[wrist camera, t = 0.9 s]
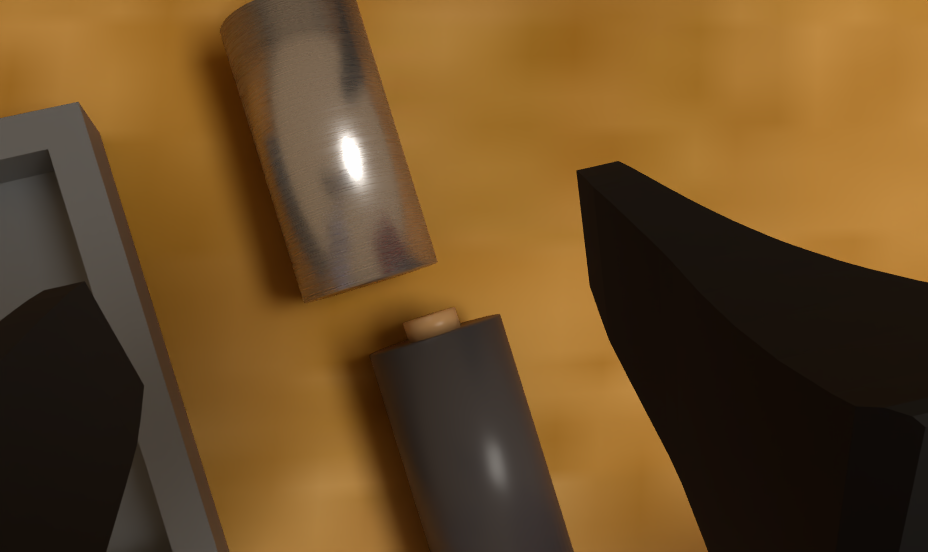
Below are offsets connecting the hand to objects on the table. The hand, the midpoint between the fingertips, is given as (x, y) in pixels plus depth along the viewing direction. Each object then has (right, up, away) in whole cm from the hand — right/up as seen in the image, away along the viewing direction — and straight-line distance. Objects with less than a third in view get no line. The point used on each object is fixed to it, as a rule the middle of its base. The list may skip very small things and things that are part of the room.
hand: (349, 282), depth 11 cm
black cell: (+1, -6, +13) cm, 15 cm away
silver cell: (-2, +4, +13) cm, 14 cm away
